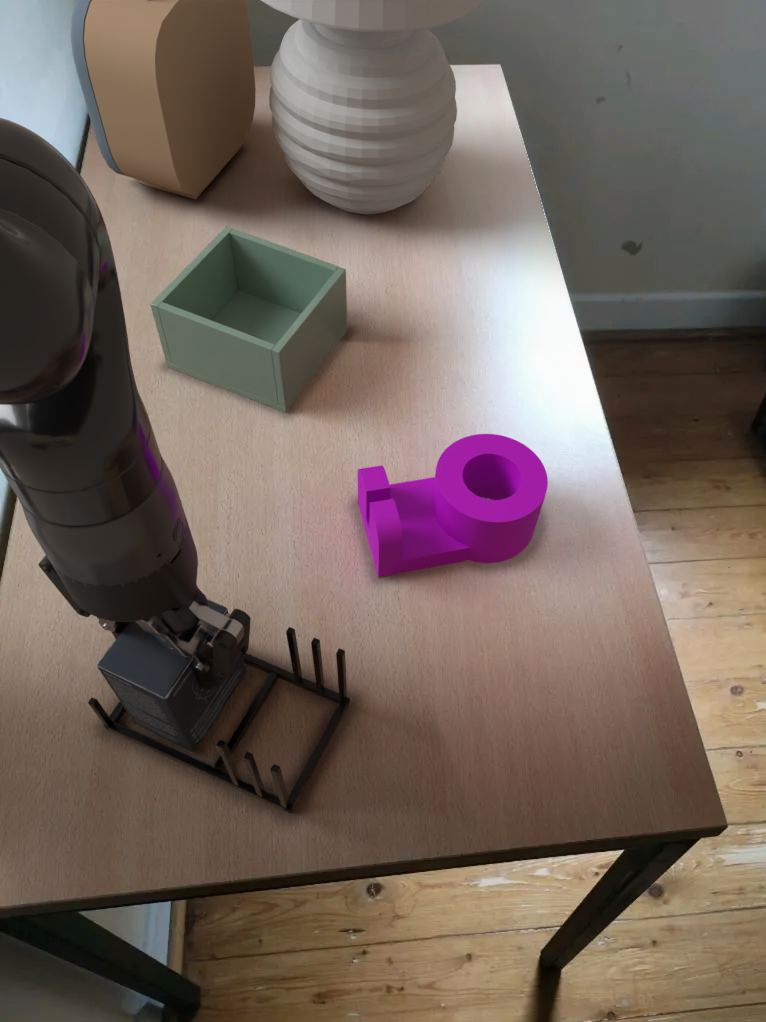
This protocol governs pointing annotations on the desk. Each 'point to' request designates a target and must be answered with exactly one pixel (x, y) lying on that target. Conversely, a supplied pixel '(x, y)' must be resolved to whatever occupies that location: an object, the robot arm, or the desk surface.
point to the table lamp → (365, 98)
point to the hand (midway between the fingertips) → (175, 661)
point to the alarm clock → (166, 86)
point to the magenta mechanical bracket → (455, 507)
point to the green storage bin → (252, 317)
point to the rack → (229, 748)
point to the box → (165, 686)
